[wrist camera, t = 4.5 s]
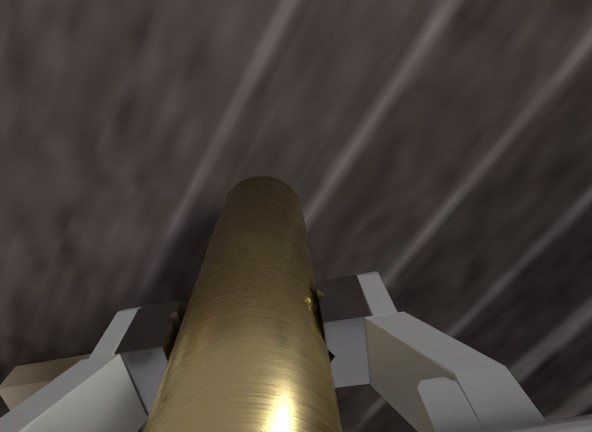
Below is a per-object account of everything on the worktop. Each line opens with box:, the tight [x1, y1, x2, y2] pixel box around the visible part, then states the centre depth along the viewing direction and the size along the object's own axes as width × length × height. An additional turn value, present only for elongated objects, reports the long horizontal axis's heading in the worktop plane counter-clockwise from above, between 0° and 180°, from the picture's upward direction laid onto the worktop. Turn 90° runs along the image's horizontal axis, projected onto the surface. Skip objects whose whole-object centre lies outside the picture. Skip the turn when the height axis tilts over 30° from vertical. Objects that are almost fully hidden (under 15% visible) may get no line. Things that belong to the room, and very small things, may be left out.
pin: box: [144, 176, 343, 432], centre depth 9 cm, size 3×3×12 cm
